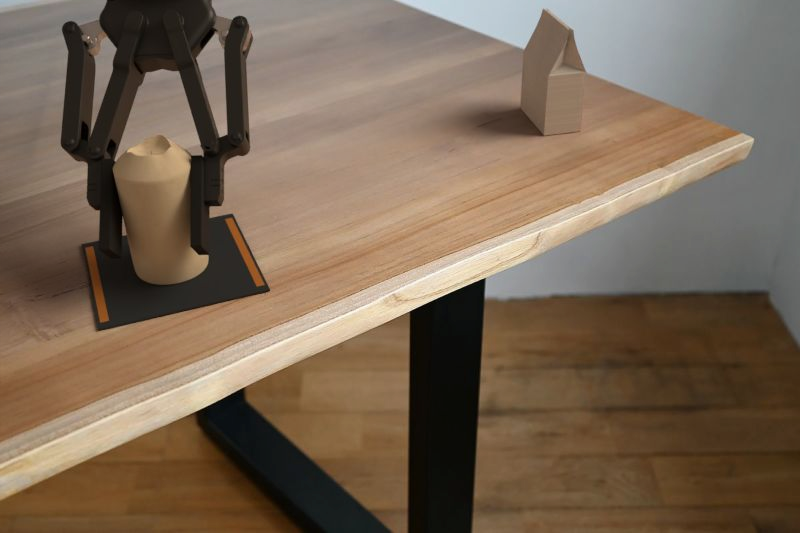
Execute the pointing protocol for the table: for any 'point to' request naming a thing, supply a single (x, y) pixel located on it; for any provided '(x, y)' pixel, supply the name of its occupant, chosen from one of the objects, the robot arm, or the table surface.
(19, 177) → the table surface
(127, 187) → the candle
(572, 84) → the tan gable-top carton
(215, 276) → the mat
